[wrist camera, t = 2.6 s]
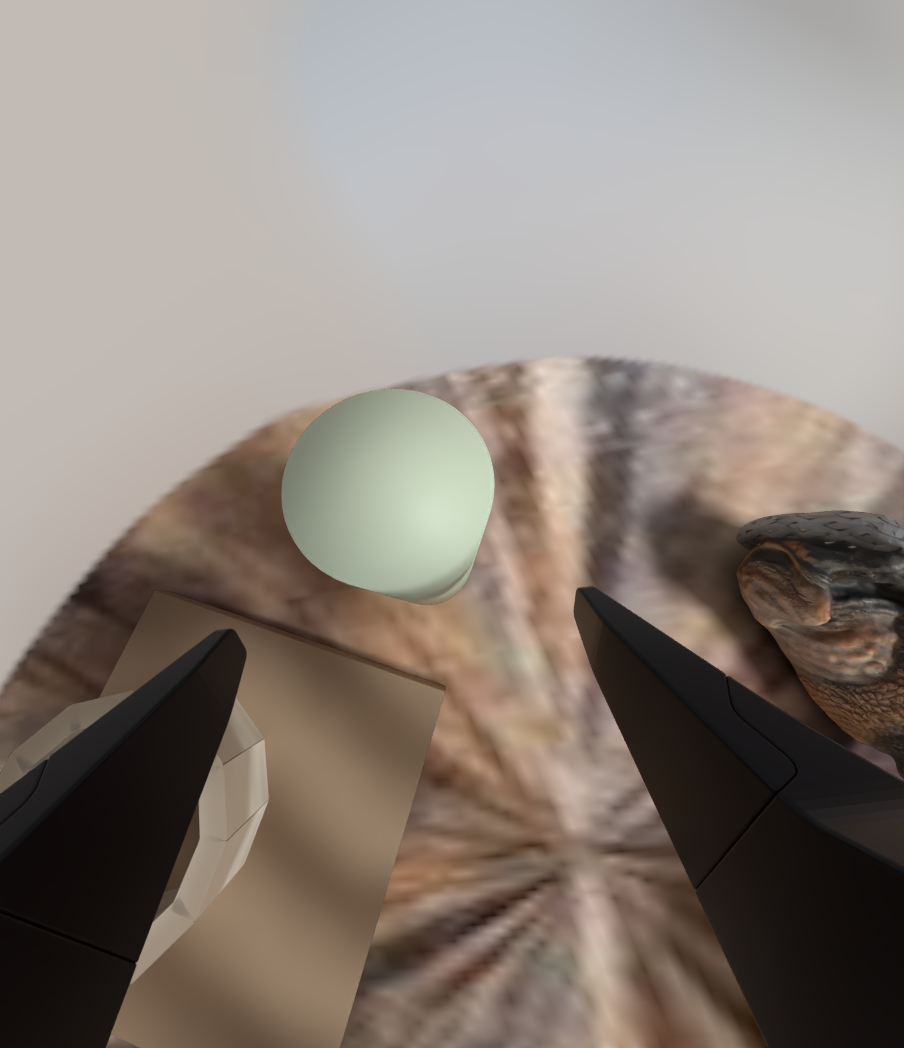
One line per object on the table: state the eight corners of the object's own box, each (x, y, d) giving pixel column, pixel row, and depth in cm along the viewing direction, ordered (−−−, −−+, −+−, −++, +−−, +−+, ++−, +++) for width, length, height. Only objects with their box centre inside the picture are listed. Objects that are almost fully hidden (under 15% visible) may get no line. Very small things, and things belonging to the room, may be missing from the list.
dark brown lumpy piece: (717, 514, 21) (664, 679, 18) (849, 459, 14) (796, 709, 11) (929, 613, 19) (906, 808, 17) (1191, 605, 13) (1222, 929, 10)
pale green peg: (456, 617, 19) (457, 620, 7) (371, 588, 20) (244, 550, 8) (482, 531, 20) (518, 418, 9) (401, 506, 21) (330, 368, 9)
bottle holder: (326, 1089, 14) (275, 1276, 10) (-2, 937, 16) (-161, 1048, 12) (446, 686, 18) (443, 707, 14) (172, 592, 20) (97, 586, 16)
